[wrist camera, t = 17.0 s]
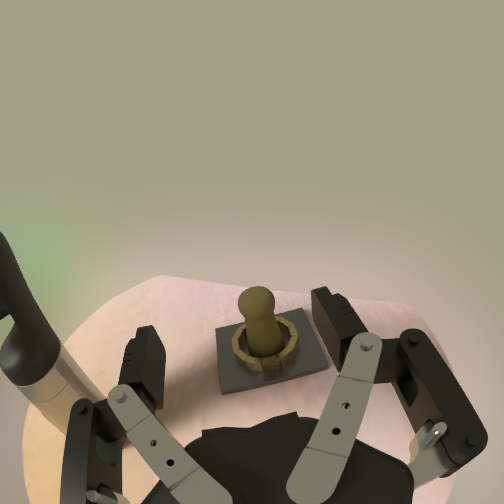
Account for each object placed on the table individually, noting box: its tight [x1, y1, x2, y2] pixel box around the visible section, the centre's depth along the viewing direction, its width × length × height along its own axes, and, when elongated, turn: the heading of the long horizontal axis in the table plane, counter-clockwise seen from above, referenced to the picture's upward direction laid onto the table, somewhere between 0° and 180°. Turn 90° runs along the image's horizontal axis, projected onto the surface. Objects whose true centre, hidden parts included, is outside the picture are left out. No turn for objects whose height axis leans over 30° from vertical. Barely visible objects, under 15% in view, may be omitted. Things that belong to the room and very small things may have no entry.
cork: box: [238, 286, 285, 359], centre depth 41 cm, size 6×6×11 cm
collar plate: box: [215, 308, 328, 395], centre depth 44 cm, size 16×14×3 cm
